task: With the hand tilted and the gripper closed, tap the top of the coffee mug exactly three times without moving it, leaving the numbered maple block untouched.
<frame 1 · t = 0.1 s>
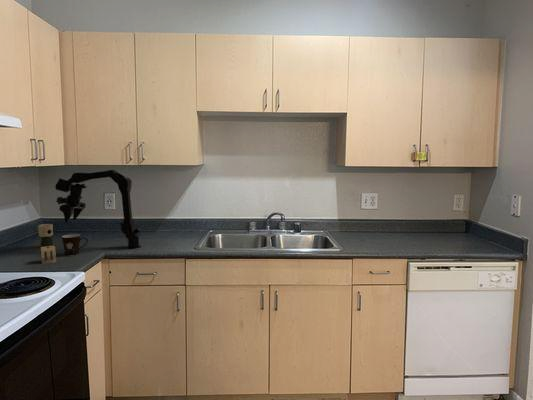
hand: (70, 221, 214), 15 cm above the worktop, tool pointing down, fingers open, 9 cm apart
coffee mug: (74, 254, 202), on the worktop
numbered maple block: (49, 261, 189), on the worktop
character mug: (47, 247, 218), on the worktop
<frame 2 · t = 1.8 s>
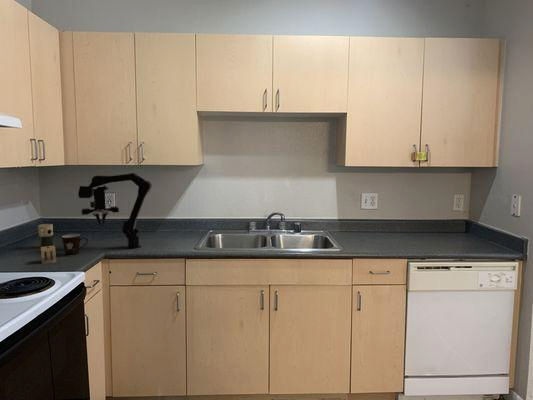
hand: (101, 225, 213), 13 cm above the worktop, tool pointing down, fingers closed
nothing on the worktop moved.
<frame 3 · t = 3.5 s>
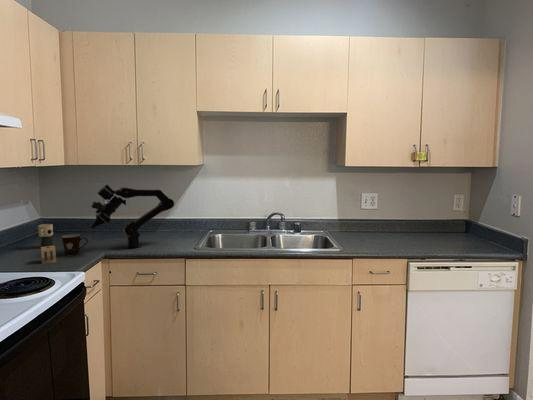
hand: (91, 227, 205), 14 cm above the worktop, tool tilted 45°, fingers closed
nothing on the worktop moved.
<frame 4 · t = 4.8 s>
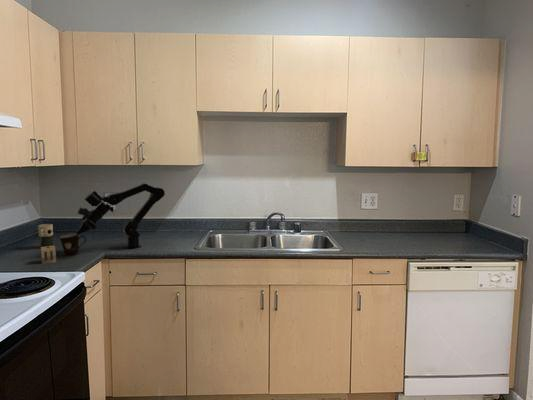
hand: (76, 233, 201), 11 cm above the worktop, tool tilted 45°, fingers closed, pressing on coffee mug
coffee mug: (74, 254, 202), on the worktop, touching gripper
everything else where it was.
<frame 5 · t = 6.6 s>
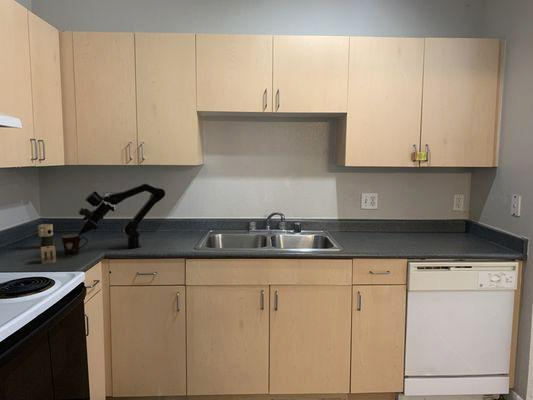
hand: (78, 234, 202), 11 cm above the worktop, tool tilted 45°, fingers closed
coffee mug: (74, 254, 202), on the worktop
everything else where it was.
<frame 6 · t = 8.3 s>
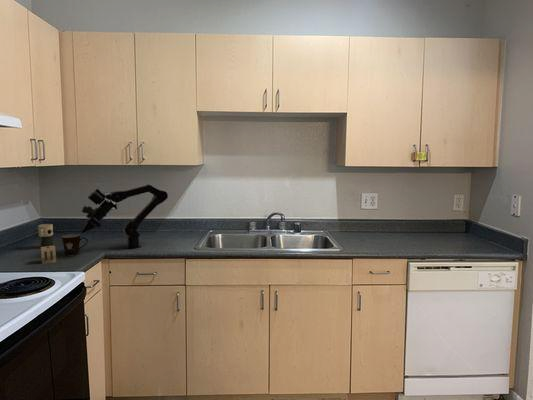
hand: (81, 232, 202), 11 cm above the worktop, tool tilted 45°, fingers closed
nothing on the worktop moved.
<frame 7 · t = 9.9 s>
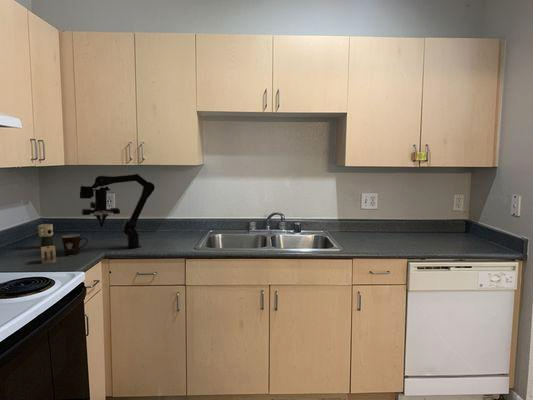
hand: (100, 226, 209), 13 cm above the worktop, tool pointing down, fingers closed
nothing on the worktop moved.
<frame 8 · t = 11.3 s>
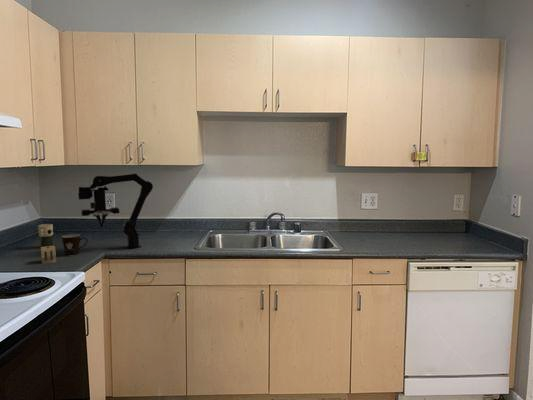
hand: (101, 226, 209), 13 cm above the worktop, tool pointing down, fingers closed
nothing on the worktop moved.
at the end: coffee mug moved 0.2 cm from its start; coffee mug tilted 0°; numbered maple block moved 0.1 cm from its start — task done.
